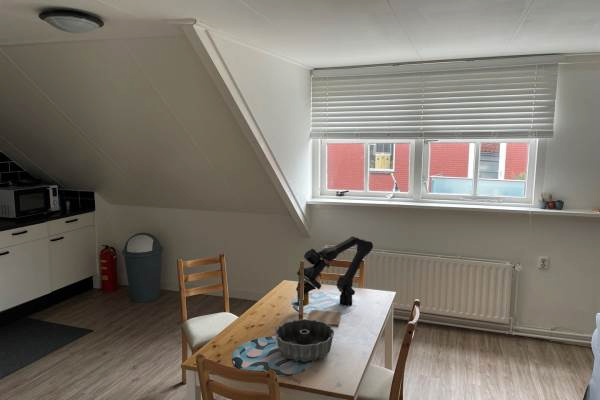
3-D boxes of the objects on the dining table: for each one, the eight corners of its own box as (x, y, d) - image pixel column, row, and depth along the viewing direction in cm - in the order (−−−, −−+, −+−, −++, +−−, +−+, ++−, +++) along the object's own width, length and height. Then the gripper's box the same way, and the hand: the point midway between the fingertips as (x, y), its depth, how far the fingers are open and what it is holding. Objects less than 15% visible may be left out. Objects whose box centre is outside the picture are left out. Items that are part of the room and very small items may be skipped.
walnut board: (340, 314, 237) (341, 311, 237) (338, 326, 222) (338, 324, 222) (311, 311, 240) (311, 309, 240) (307, 324, 224) (307, 322, 224)
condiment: (312, 303, 238) (311, 282, 236) (300, 308, 232) (300, 286, 230) (302, 299, 243) (302, 278, 241) (291, 304, 238) (290, 282, 236)
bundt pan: (262, 351, 197) (262, 330, 195) (304, 333, 215) (304, 313, 213) (304, 375, 178) (304, 352, 177) (346, 352, 196) (346, 331, 195)
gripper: (299, 256, 244) (281, 279, 241) (315, 265, 228) (297, 289, 225) (312, 267, 249) (295, 290, 246) (329, 277, 232) (311, 301, 229)
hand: (299, 292), depth 236 cm, fingers closed on condiment, 6 cm apart
